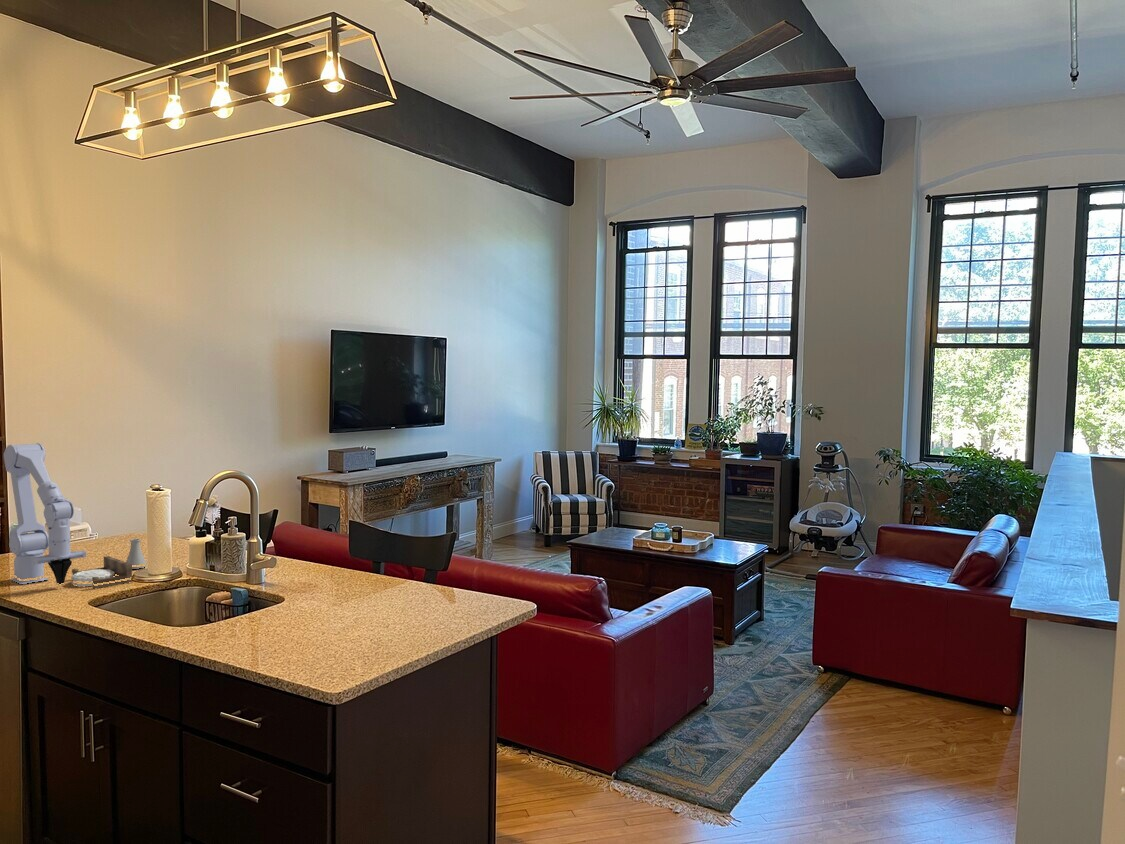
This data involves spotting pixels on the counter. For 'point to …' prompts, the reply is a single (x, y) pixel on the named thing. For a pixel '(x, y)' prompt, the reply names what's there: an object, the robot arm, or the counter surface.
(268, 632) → the counter surface
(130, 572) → the lid holder
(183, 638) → the counter surface
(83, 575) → the mooncake
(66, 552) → the robot arm
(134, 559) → the flask
